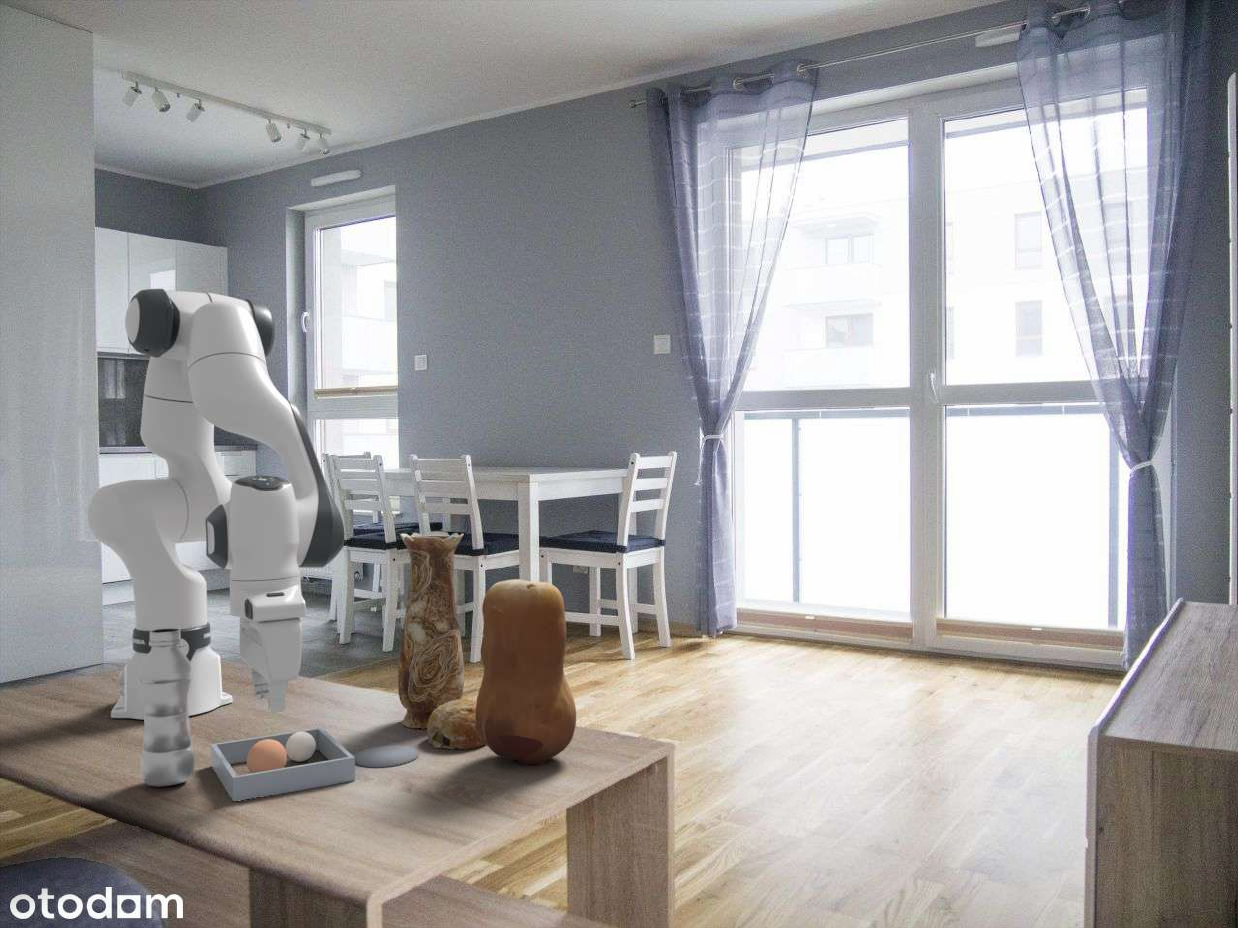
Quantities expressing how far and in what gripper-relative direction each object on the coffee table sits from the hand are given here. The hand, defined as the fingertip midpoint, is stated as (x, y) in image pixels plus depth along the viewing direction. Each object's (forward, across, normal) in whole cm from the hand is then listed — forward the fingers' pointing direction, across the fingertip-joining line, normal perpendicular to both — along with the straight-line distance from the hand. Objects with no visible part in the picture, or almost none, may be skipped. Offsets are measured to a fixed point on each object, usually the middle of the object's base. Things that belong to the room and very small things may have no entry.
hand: (269, 704), depth 130 cm
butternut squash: (+10, +12, +32) cm, 35 cm away
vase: (+10, -14, +28) cm, 33 cm away
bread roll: (+10, -3, +28) cm, 30 cm away
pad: (+10, 0, +16) cm, 19 cm away
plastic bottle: (+10, -5, -12) cm, 16 cm away
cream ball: (+10, -6, +5) cm, 12 cm away
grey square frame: (+10, -2, +2) cm, 10 cm away
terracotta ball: (+10, -1, 0) cm, 10 cm away
